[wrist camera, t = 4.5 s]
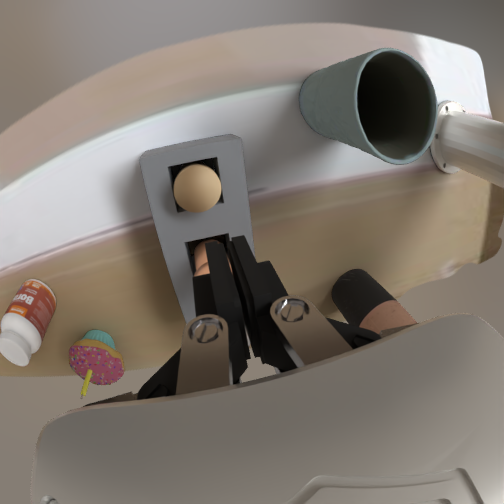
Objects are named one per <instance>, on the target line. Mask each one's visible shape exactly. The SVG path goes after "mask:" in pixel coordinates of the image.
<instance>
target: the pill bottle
mask: <svg viewBox="0 0 504 504" xmlns="http://www.w3.org/2000/svg"><path fill="white" fill-rule="evenodd" d="M55 308H56V298H55V296H54V293H53V292H52V290H51V289H50V288H49V287H48V286H47V285H46V284H45V283H43V282H41V281H39V280H36V279H29V280H27V281H25V282H24V283H23V284H22V286H21V288H20V289H19V291H18V292H17V294H16V296H15V297H14V299H13V300H12V302H11V304H10V306H9V307H8V309H7V311H6V313H5V314H4V316H3V318H2V321H1V331H2V333H1V334H0V352H1V353H2V354H3V356H4V357H5V358H6V359H8V360H9V361H10V362H12V363H14V364H16V365H19V366H26V365H27V364H28V363H29V360H30V358H31V354H32V353H35V352H36V351H38V349H39V348H40V345H41V343H42V341H43V338H44V335H45V333H46V330H47V327H48V325H49V323H50V320H51V318H52V315H53V313H54V311H55Z"/></svg>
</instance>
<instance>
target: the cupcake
mask: <svg viewBox="0 0 504 504" xmlns="http://www.w3.org/2000/svg"><path fill="white" fill-rule="evenodd" d="M69 362H70V363H69V364H70V366H71V367H72V368H73V370H74V371H75V372H76V373H77V374H78V375H79V376H80V377H82V378H83V379H85V381H84V384H83V387H82V391H81V395H82V396H81V399H82V398H83V396H85V395H86V392H87V388H88V385H89V382H91V383H93V384H97V385H108V384H109V385H110V384H111V383H114V382H117V380H119V379H120V377H122V375H123V374H124V371H125V369H124V362H123V359H122V355H121V354H120V353H119V352H117V351H116V350H115V345H114V341H113V339H112V337H111V336H110V335H109V334H107V333H105V332H103V331H100V330H91V331H88V332H87V333H86V335H85V336H84V337H83V338H82V340H81V341H76V342H75V343H74V345H73V346H72V347H71V348H70V350H69Z"/></svg>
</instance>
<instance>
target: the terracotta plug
mask: <svg viewBox="0 0 504 504" xmlns="http://www.w3.org/2000/svg"><path fill="white" fill-rule="evenodd" d="M212 241H217V240H214V239H207V240H204V241H202V242H200V243H199V244H198V245H197V246H196V248H195V251H194V257H195V265H196V272H195V274H194V276H199V275H204V274H208V273H210V272H209V267H208V261H207V255H206V249H205V243H207V242H212ZM219 243H220V242H219V241H218V244H219ZM226 255H227V254H226ZM227 258H228V257H227ZM228 261H229V260H228ZM229 265H230V268H231V264H230V263H229ZM231 271H232V270H231Z"/></svg>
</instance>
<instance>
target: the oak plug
mask: <svg viewBox="0 0 504 504" xmlns="http://www.w3.org/2000/svg"><path fill="white" fill-rule="evenodd" d="M220 195H221V183H220V180H219V178H218V176H217V174H216V173H215V172H214V171H213V170H212V169H211V168H210V167H208V166H207V165H206V164H205V163H204V162H202V161H200V160H197V161H192V162H187V163H184V164H183V165H182V166H181V168H180V170H179V174H178V175H177V177H176V179H175V182H174V196H175V199H176V201H177V203H178V204H179V205H180V206H181V207H182V208H183V209H185V210H187V211H189V212H194V213H199V212H204V211H207V210H209V209H210V208H212V207H213V206H214V205H215V204H216V203H217V201H218V200H219V198H220Z"/></svg>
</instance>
